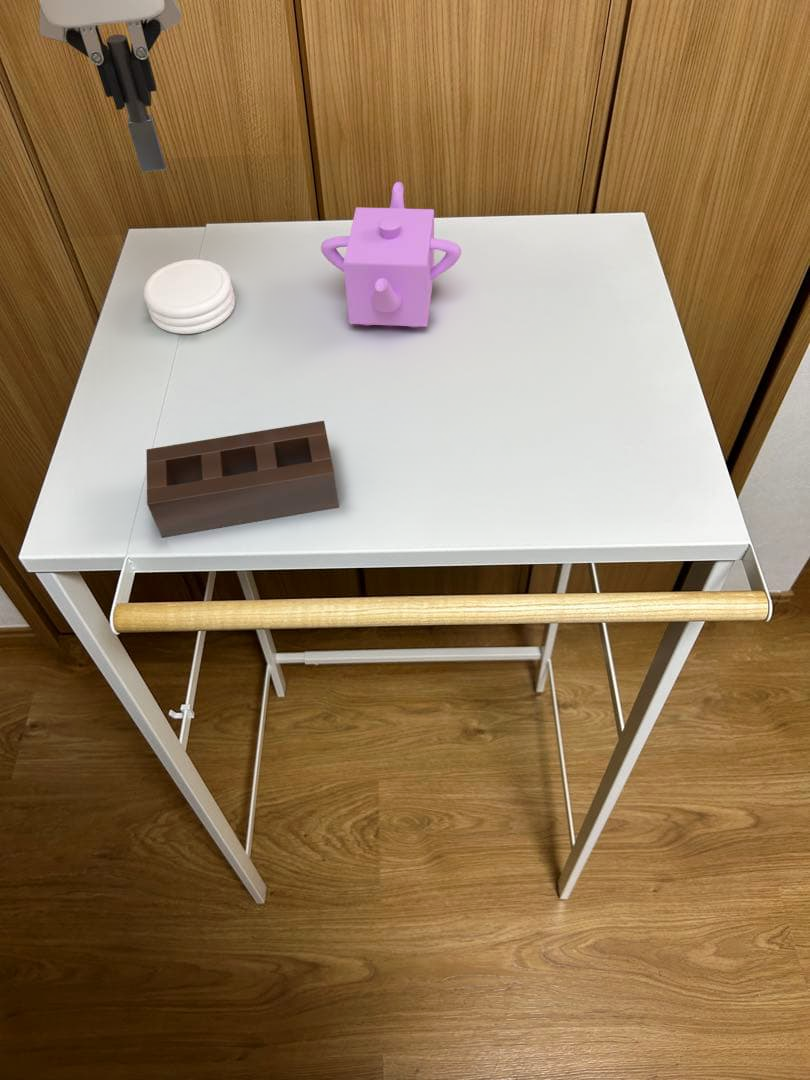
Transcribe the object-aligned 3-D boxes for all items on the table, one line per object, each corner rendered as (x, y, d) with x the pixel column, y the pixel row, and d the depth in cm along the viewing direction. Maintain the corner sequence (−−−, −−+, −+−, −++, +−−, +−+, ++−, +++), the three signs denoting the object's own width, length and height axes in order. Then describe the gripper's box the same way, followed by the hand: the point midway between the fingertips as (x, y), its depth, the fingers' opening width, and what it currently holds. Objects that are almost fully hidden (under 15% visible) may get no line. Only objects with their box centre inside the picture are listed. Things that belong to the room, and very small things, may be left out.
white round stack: (228, 275, 101) (222, 250, 98) (242, 325, 96) (236, 300, 93) (146, 291, 100) (138, 266, 97) (155, 344, 94) (146, 319, 91)
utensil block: (339, 507, 79) (334, 472, 75) (161, 537, 78) (146, 504, 74) (329, 455, 83) (323, 420, 79) (160, 483, 82) (146, 449, 78)
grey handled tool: (166, 171, 82) (130, 41, 73) (141, 175, 82) (102, 44, 72) (165, 162, 83) (130, 32, 74) (141, 165, 83) (102, 35, 73)
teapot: (479, 316, 95) (483, 231, 86) (383, 365, 91) (378, 281, 82) (402, 254, 103) (399, 170, 94) (310, 296, 98) (298, 212, 90)
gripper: (166, -173, 65) (217, 72, 80) (-40, -153, 64) (50, 92, 79) (169, -143, 61) (221, 110, 76) (-53, -121, 60) (45, 132, 75)
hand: (133, 99), depth 77 cm, fingers closed on grey handled tool, 1 cm apart
